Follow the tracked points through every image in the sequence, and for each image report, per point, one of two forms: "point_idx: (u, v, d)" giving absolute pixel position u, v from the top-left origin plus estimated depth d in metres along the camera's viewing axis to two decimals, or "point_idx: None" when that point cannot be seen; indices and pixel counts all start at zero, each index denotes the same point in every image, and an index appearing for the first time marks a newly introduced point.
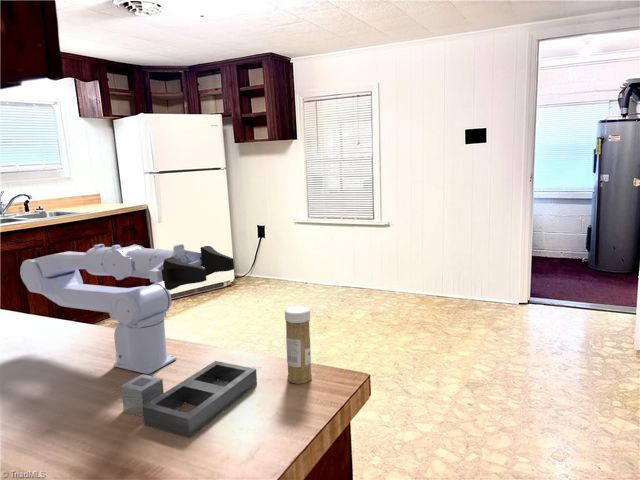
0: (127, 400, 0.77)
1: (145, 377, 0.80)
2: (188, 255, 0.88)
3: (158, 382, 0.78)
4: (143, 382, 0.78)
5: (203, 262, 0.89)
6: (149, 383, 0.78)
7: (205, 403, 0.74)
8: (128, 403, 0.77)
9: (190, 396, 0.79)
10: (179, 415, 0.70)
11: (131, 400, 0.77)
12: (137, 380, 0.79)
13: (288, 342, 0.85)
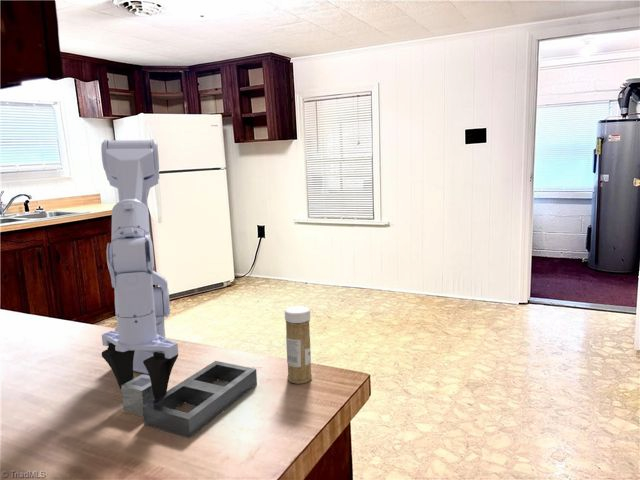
0: (127, 400, 0.77)
1: (145, 377, 0.80)
2: None
3: None
4: (143, 382, 0.78)
5: None
6: (149, 383, 0.78)
7: (205, 403, 0.74)
8: (128, 403, 0.77)
9: (190, 396, 0.79)
10: (179, 415, 0.70)
11: (131, 400, 0.77)
12: (137, 380, 0.79)
13: (288, 342, 0.85)
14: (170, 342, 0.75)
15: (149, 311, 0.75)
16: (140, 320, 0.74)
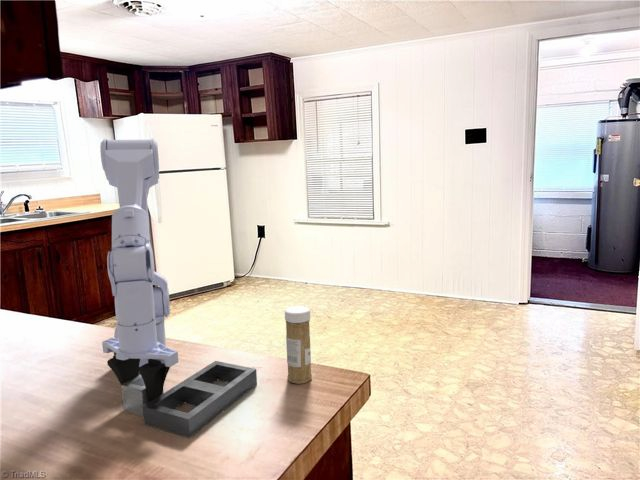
0: (127, 400, 0.77)
1: None
2: None
3: None
4: (143, 381, 0.78)
5: None
6: None
7: (205, 403, 0.74)
8: (128, 403, 0.77)
9: (190, 396, 0.79)
10: (179, 415, 0.70)
11: (131, 400, 0.77)
12: (137, 379, 0.79)
13: (288, 342, 0.85)
14: (170, 350, 0.75)
15: (149, 319, 0.75)
16: (140, 328, 0.74)
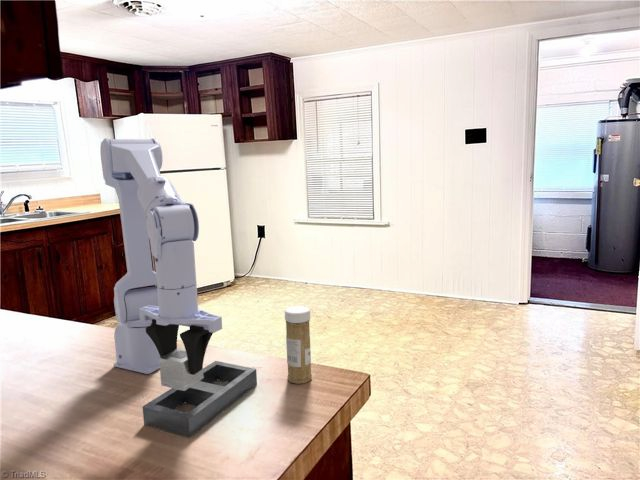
0: (165, 373, 0.73)
1: (183, 349, 0.75)
2: None
3: None
4: (182, 354, 0.74)
5: None
6: None
7: (205, 403, 0.74)
8: (166, 377, 0.73)
9: (190, 396, 0.79)
10: (179, 415, 0.70)
11: (170, 373, 0.72)
12: (175, 353, 0.74)
13: (288, 342, 0.85)
14: (213, 316, 0.71)
15: (194, 282, 0.71)
16: (182, 292, 0.70)
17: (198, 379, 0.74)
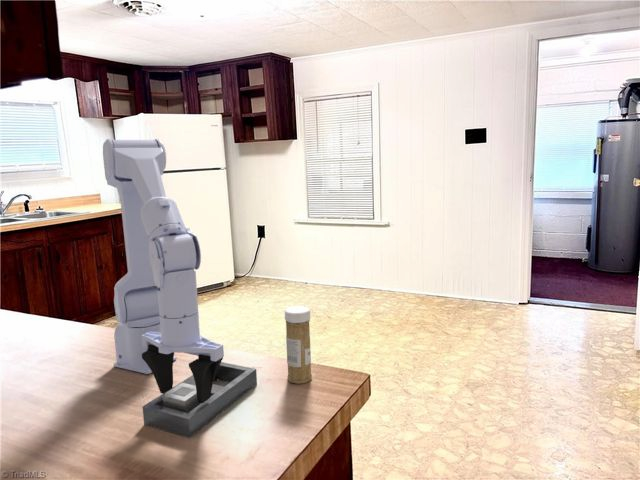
0: None
1: (185, 386, 0.77)
2: None
3: None
4: (185, 391, 0.75)
5: None
6: (191, 392, 0.74)
7: (205, 403, 0.74)
8: None
9: None
10: (179, 415, 0.70)
11: None
12: (178, 389, 0.75)
13: (288, 342, 0.85)
14: (215, 344, 0.72)
15: (196, 310, 0.72)
16: (185, 321, 0.70)
17: None
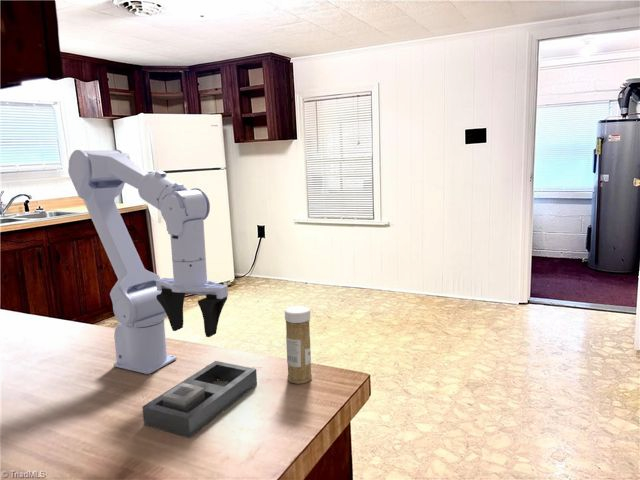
0: None
1: (185, 386, 0.77)
2: None
3: (200, 391, 0.75)
4: (185, 391, 0.75)
5: None
6: (191, 392, 0.74)
7: (205, 403, 0.74)
8: None
9: None
10: (179, 415, 0.70)
11: None
12: (178, 389, 0.75)
13: (288, 342, 0.85)
14: (220, 285, 0.83)
15: (205, 254, 0.84)
16: (194, 264, 0.82)
17: None
